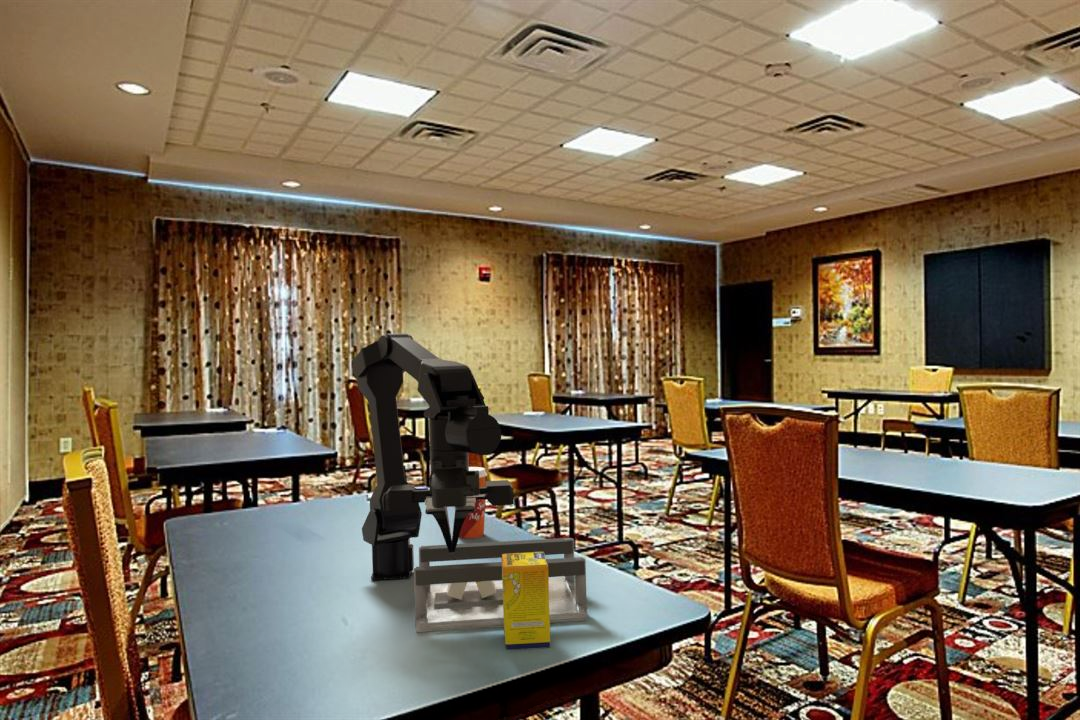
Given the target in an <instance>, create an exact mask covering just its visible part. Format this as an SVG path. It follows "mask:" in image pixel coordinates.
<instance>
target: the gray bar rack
mask: <svg viewBox="0 0 1080 720" xmlns="http://www.w3.org/2000/svg"><path fill="white" fill-rule="evenodd" d="M574 541H575V540H574V538H572V537H561V538H558V537H557V538H544V539H543V538H541V539H523V540H506V541H505V540H504V541H488V542H474V543H473V542H468V543H457V546H456V549H455V553H449V551H448V548H447V545H446V544H437V545H436V544H434V545H420V546H419V547H418V564H419V565H418V566H416V567H415V568H413V583H414V584H413V585H414V587H413V588H414V589H413V590H414V591H413V593H414V616H415V617H414V621H415V622H414V623H415V624H414V625H415V626H414V627H416V622H417V619H419V617H420V615H424V614H426V617H427V612H426V589H429V591H430V585H443V584H449V583H463V582H467V583H475V582H479V581H502V561H496V562H495V561H494V562H478V563H477V562H476V563H475V562H474V563H461V564H460V563H459V564H445V565H444V564H443V565H430V563H431V562H433V563H434V562H445V561H446V562H450V561H468V560H470V561H471V560H483V559H499V558H500V559H502V554H509V553H529V552H544V554H545V556H553V555H563V557H561V558H545V559H546V562H547V564H548V578H555V577H564V576H565V583H566V580H571V581H572V583H574V585H575V598H576V607H577V604H583V606H584V608H586V610H587V611H588V607H587V605H588V604H587V602H588V601H587V597H588V596H587V569H586V568H587V565H586V562H587V561H586V558H585V557H582V556H581V557H580V556H577V557H576V556H575V546H574V544H575V543H574Z"/></svg>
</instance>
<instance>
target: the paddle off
mask: <svg viewBox="0 0 1080 720" xmlns="http://www.w3.org/2000/svg"><path fill="white" fill-rule="evenodd" d="M476 584H477V587H478V589H479V592H480V594H481V597H482V598H485V597H487V596H489V595H492V594H494V593H496V588H495V584H494V581H479V582H476Z"/></svg>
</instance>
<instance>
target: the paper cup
mask: <svg viewBox="0 0 1080 720" xmlns="http://www.w3.org/2000/svg"><path fill="white" fill-rule="evenodd" d="M477 470H478V471H479V487H486V481H487V480H486V477H487V476H488V473H487V472H486V468H485V467H481V466H480V467H479V466H469V471H477ZM485 511H486V499H483V500H476V503H475V512H470V513H468V515H467V517H466V519H465V521H464V523H463V526H462V528H461V532H460V535H459V539H466V540H467V539H470V540H471V539H472V540H473V539H478V538H482V537H483V536H484V533H485V517H486V516H485V514H486V512H485Z"/></svg>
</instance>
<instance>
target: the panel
mask: <svg viewBox="0 0 1080 720" xmlns="http://www.w3.org/2000/svg"><path fill="white" fill-rule="evenodd" d="M548 578H549V616H550V624H555V623H569V622H570V623H571V622H583V621H584V622H585V621H588V620H589V615H588V613H589V612H588V609H587V610H586V608H584V606H583V604H577V607H576V598H575V585H574V583H572V581H571V580H566V583H565V576H559V577H548ZM494 584H495V588H496V593H494V594H492V595H489V596H487V597H485V598H482V597H481V594H480V592H479V589H478V587H477V584H476V582H467V584H466V587H465V590H464V593H463V596H462V599H461V600H460V599H457V598H453V597H450V596H447V590H448V586H449V583H447V584H431V585H430V591H429V589H426V612H427V617H426V614H424V615H420V617H419V619H417V622H416V626H415V627H416V628H415V631H416V633H423V632H424V633H425V632H426V633H427V632H439V631H442V632H443V631H452V630H453V631H454V630H455V631H456V630H468V629H470V630H471V629H484V628H497V627H504V613H503V584H502V580H495V581H494Z"/></svg>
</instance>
